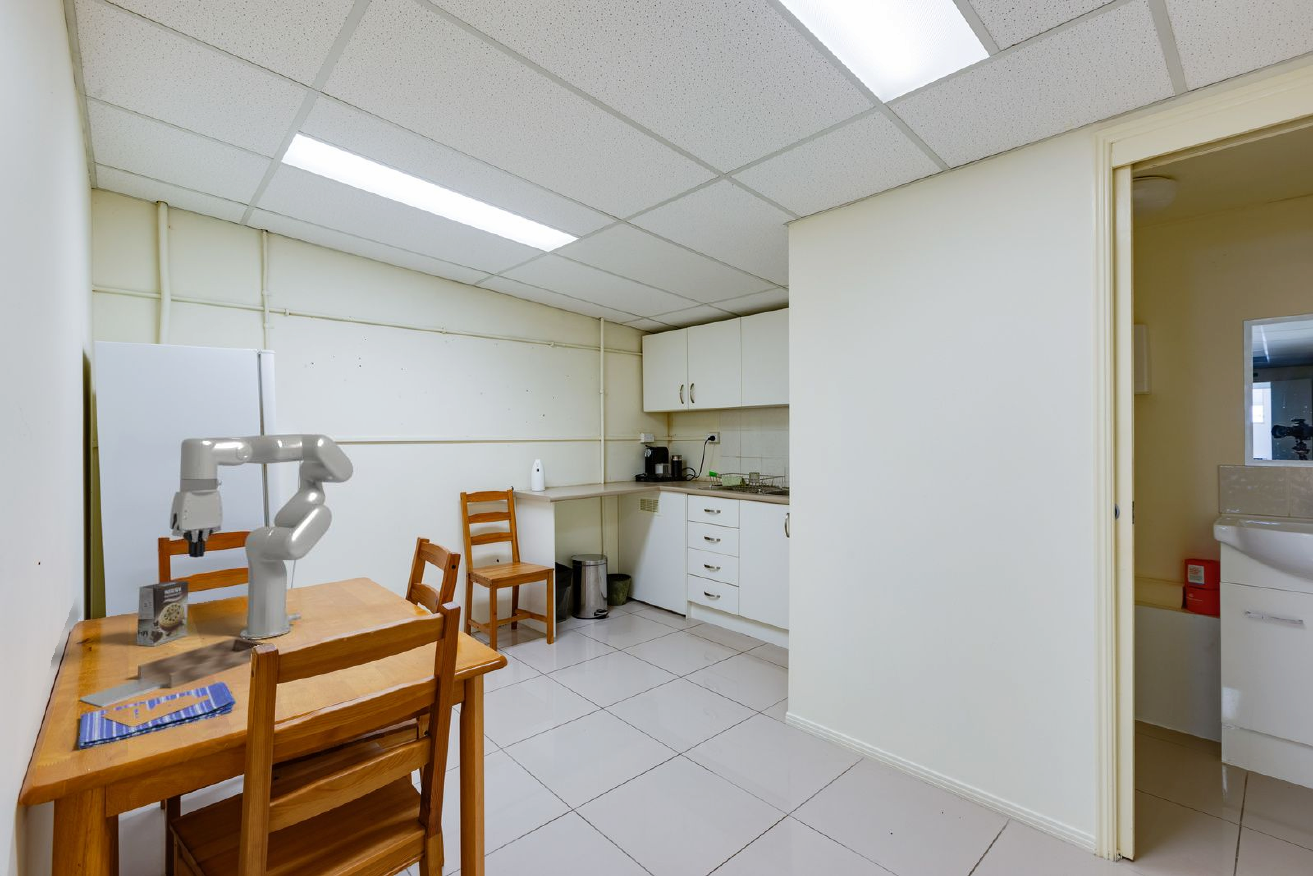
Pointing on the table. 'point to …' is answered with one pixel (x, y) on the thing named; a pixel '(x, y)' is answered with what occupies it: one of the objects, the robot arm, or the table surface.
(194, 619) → the table surface
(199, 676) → the walnut box
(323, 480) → the robot arm
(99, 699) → the cover plate
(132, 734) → the dish towel
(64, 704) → the table surface
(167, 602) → the cookie box
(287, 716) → the table surface
